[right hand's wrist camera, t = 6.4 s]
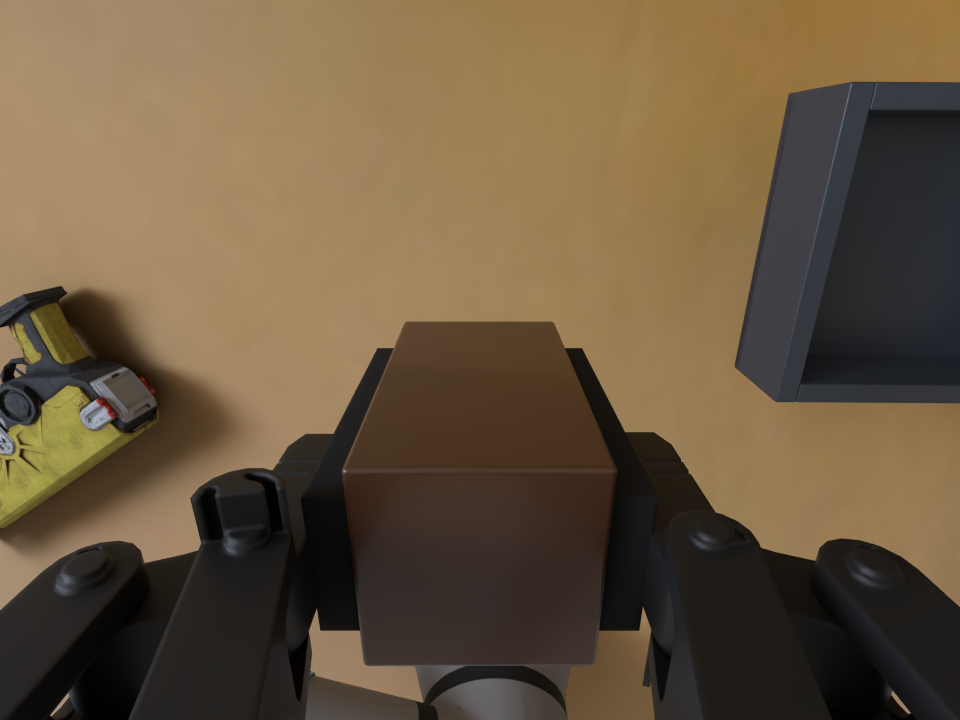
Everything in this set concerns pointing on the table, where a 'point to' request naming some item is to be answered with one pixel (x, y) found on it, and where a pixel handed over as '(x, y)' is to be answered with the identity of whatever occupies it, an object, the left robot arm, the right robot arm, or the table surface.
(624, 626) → the right robot arm
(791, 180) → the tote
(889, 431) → the table surface
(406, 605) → the walnut block
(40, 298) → the toy gun
